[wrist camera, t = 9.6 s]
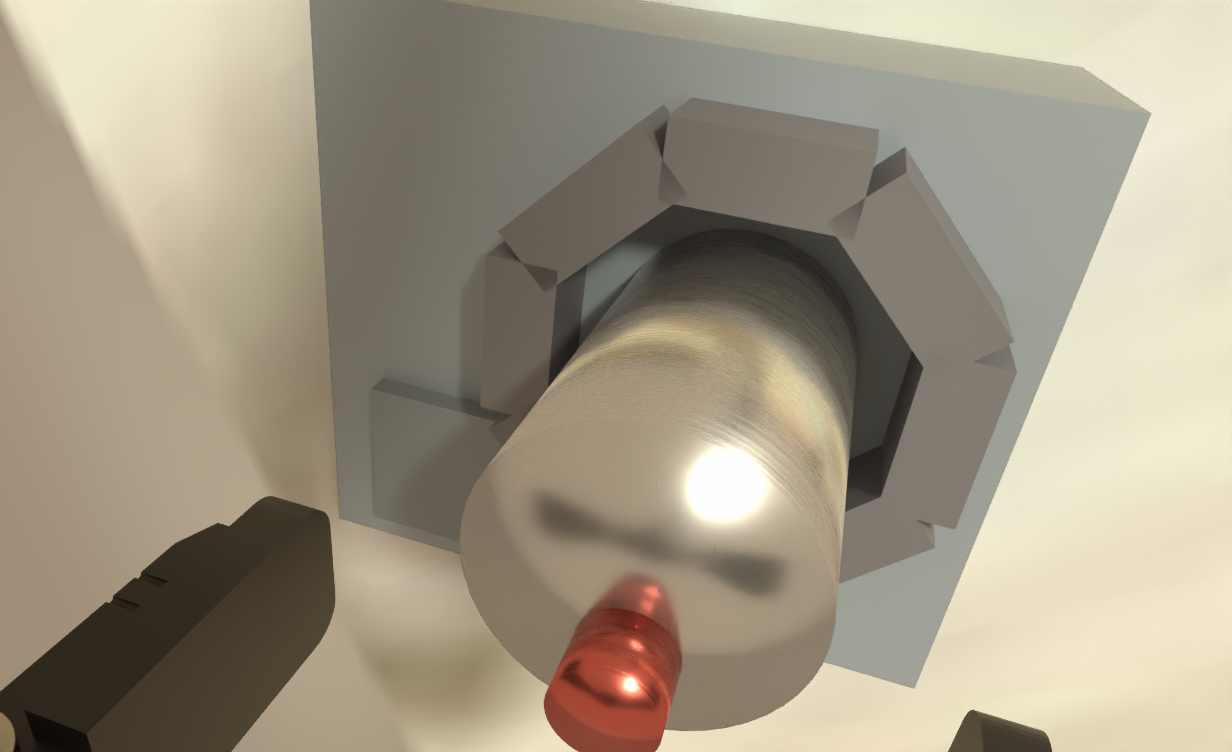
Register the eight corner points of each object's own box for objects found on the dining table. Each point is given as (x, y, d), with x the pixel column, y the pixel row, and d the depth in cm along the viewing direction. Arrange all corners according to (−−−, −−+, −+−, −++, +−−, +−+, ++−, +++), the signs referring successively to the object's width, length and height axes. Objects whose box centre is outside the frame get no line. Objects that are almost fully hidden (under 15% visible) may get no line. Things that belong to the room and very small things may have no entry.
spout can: (630, 207, 17) (417, 424, 10) (886, 256, 16) (881, 545, 9) (605, 419, 20) (420, 730, 12) (826, 474, 19) (779, 851, 11)
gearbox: (441, -30, 22) (244, -17, 16) (1082, 67, 19) (1186, 137, 12) (436, 486, 31) (304, 643, 24) (884, 613, 27) (881, 834, 21)
